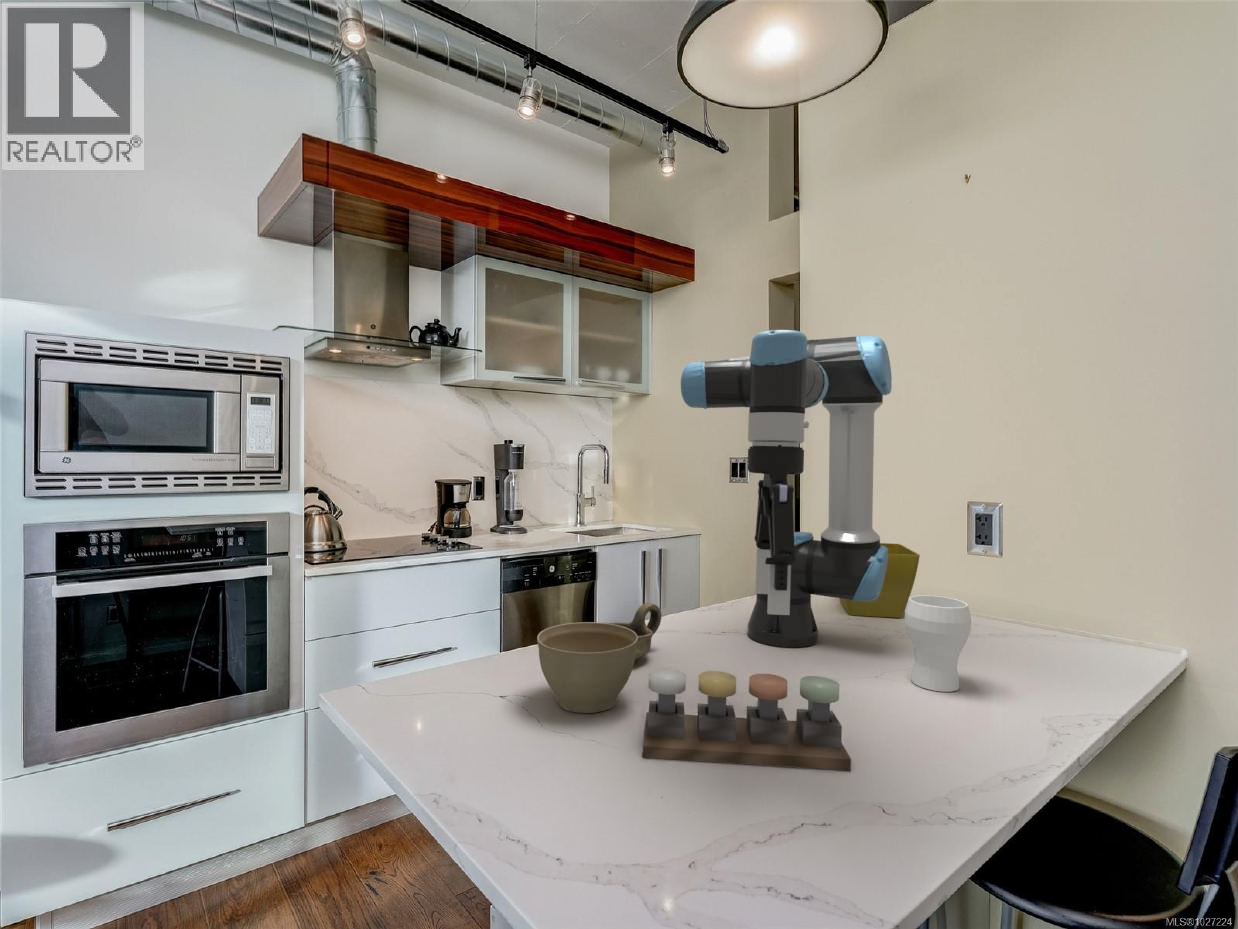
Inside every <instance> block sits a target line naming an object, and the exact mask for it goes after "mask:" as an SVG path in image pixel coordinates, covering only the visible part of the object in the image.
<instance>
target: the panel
mask: <svg viewBox="0 0 1238 929" xmlns="http://www.w3.org/2000/svg"><path fill="white" fill-rule="evenodd" d="M707 706H708V703H700V702H699V703H698V702H697V714H685V702H681V701H675V713H659V712H658V700H649V702H648V712H645V723H644V731H643V732H644V733H643V743H642V758H645V759H647V758H648V759H661V760H678V761H691V762H692V761H693V762H694V761H695V762H710V763H721V764H723V763H726V764H742V765H755V766H771V767H772V766H773V767H785V768H786V767H787V768H790V767H791V768H802V769H803V768H805V769H819V770H836V771H852V759H851V758H852V757H850V755H849V753H848V751H847V750H846V748H845V747H844V745H843V742H842V737H843V736H842V733H843V732H842V731H843V725H842V724H841V723H840V720H839V719H838V718H837V716H836V714H835V712H834V711H833V710H830V722H816V721H810V720H809V718H808V708H807V709H806V708H796V714H795V715H796V716H795V717H796V719H795V720H788V719H787V718H788V717H787V715H786V713H785V711H784V708H783V707H778V715H777V719H763V718H758V715H757V706H752V705H750V706H749V705H747V706H746V717H736V713H735V708H734V705H733V704H726V716H711V715H708V712H707Z"/></svg>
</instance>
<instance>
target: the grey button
mask: <svg viewBox="0 0 1238 929" xmlns="http://www.w3.org/2000/svg"><path fill="white" fill-rule="evenodd" d="M686 679H687V675H686V673H685V672H684V671H681V670H678V669H675V668H666V667H665V668H655V669H653V670H651V671H649V673H648V689H649V690H650V691H652V692H654V693H656V694H658V695H657V698H658V699H657V701H658V712H659V713H675V702H676V695H679V694H681V693H684V692H685V691H686V687H687V685H686V684H687V682H686V681H687V680H686Z"/></svg>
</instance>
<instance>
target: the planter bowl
mask: <svg viewBox="0 0 1238 929" xmlns="http://www.w3.org/2000/svg"><path fill="white" fill-rule="evenodd" d="M608 623H609V622H598V621H597V622H594V621H593V622H590V621H589V622H588V621H585V622H583V621H582V622H569V623H562V624H556V625H552V626H549V627H546V628H545V629H543V630H541V631H540V632H539V633H538V634H537V638H536V642H537V643H536V644H537V646H538V656H539V658H538V659H539V664H540V668H541V672H542V673H543V676H544V678H545V681H546V682H547V684H548V686H549V687H550V690H552V692H553V694H554V695H555V696H556V701H557V704H558V706H560V707H561V708H562V709H565V710H567V711H569V712H573V713H579V714H592V713H593V714H594V713H600V712H603V711H606V710H610V709H611V708H613V707H614V706H616V704H617V700H618V696H619V694H620V693H621V691H622V690H623V689H624V688H625V686H626V684H627V683H628V681H629V680H630V677H631V675H632V674H631V673H632V671H633V670H634V669H633V668H634V664H635V662H636V661H635V660H636V659H635V655H636V646H637V643H638V636H637V634H636V633H635V632H634V631H632V630H630V629H628V628H626V627H623V626H619V625H614V624H608Z"/></svg>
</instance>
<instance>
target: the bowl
mask: <svg viewBox="0 0 1238 929" xmlns="http://www.w3.org/2000/svg"><path fill="white" fill-rule="evenodd" d="M648 613H650V616H649V620H648V622H647V624H646V616H647V614H648ZM661 622H662V610H661V609H660V607H659V606H658V605H656V604H655V603H652V602H646V603H643V604H641V605H640V606H639V607H638V608H637V610H636V611H635V614H634V617H633V619H632V621H631V622H607V623H608V624H614V625H619V626H623V627H626V628H628V629H630V630H632V631H634V632H635V633H636V634H637V636H638V643H637V646H636V655H635V660H637V659H639V658H642V657H644V656H645V655H647V654H648V653H649V652H650V649H651V646H652V638H653V637H654V635H655V633H656V632H657V631H658V629H659V627H660V626H661Z"/></svg>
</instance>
